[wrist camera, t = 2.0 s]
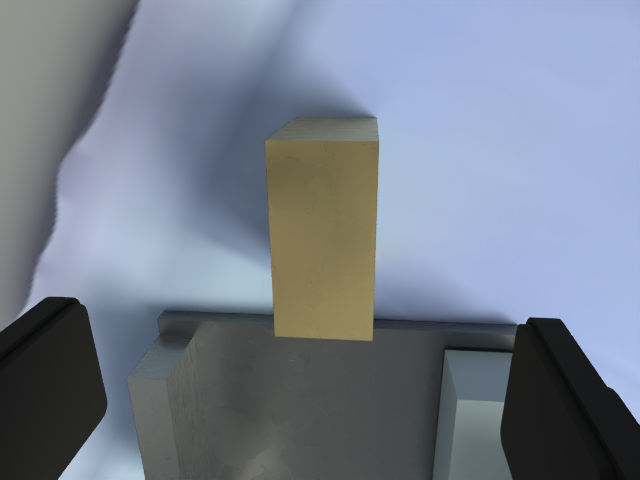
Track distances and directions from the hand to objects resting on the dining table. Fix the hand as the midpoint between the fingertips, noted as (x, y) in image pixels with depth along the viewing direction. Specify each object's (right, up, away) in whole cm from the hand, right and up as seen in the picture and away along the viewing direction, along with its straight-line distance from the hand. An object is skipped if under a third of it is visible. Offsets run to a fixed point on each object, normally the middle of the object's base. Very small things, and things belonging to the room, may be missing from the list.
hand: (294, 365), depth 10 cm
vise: (+2, -8, +19) cm, 21 cm away
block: (+1, +5, +14) cm, 15 cm away
